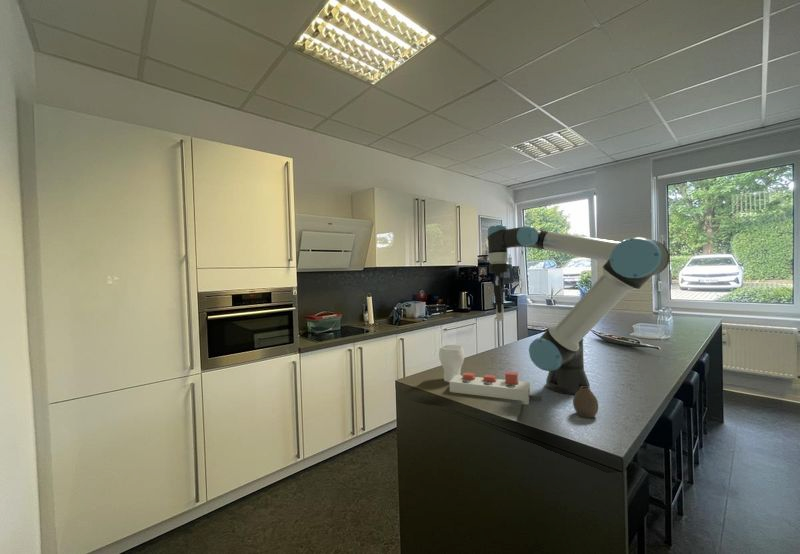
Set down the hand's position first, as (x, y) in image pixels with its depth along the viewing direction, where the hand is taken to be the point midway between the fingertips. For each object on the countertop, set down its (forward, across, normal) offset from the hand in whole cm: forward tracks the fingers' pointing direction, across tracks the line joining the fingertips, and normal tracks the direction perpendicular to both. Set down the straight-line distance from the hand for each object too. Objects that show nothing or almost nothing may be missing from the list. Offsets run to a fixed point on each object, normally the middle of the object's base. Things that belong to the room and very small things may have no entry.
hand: (500, 320), depth 132 cm
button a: (+21, +12, +5) cm, 25 cm away
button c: (+23, +12, -11) cm, 28 cm away
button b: (+23, +12, -3) cm, 26 cm away
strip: (+26, +14, -1) cm, 30 cm away
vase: (+27, +21, +28) cm, 44 cm away
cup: (+27, +4, -20) cm, 34 cm away
